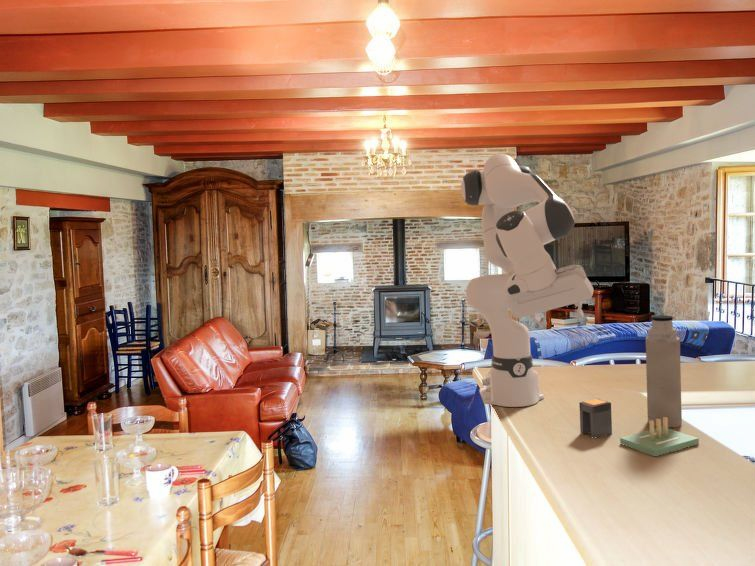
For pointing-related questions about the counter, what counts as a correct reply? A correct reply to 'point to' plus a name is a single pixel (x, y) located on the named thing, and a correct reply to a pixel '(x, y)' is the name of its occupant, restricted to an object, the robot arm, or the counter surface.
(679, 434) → the header board
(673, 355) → the thermos bottle
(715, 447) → the counter surface
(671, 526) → the counter surface
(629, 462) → the counter surface
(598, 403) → the block
